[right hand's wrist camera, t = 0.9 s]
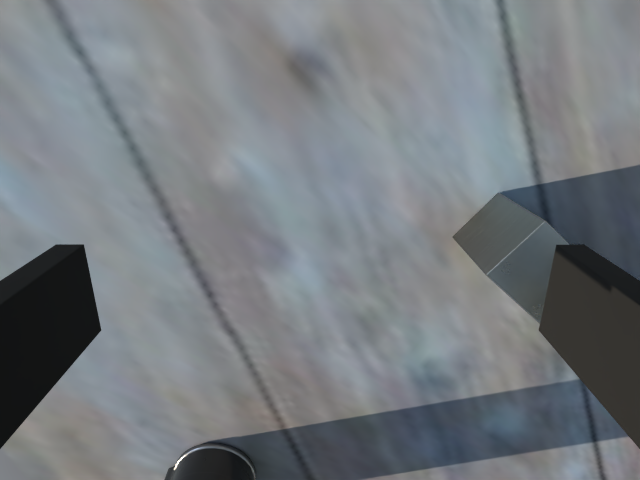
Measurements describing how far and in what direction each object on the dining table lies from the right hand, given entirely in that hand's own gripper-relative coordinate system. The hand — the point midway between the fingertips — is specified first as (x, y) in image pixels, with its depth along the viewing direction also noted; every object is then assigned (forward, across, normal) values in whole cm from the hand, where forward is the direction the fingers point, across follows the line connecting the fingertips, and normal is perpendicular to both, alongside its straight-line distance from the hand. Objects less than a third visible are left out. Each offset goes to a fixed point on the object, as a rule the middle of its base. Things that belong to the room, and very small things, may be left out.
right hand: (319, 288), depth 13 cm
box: (+28, +23, -14) cm, 39 cm away
